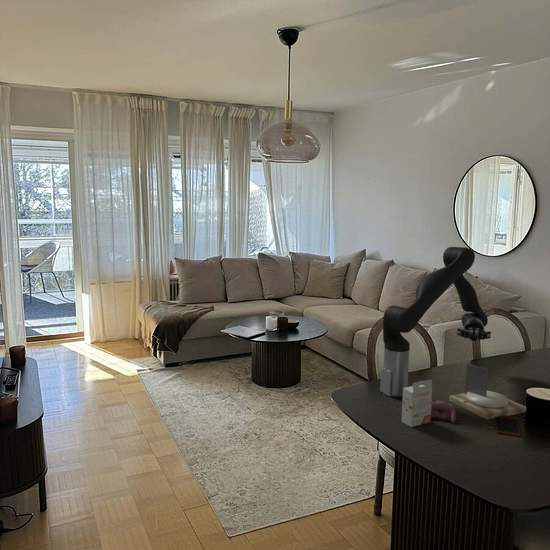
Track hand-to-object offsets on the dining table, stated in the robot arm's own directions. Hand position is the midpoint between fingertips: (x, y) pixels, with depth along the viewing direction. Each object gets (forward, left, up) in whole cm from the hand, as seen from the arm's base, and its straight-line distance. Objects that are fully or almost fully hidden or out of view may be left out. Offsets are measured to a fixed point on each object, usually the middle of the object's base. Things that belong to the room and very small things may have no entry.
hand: (473, 338), depth 193 cm
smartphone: (-10, -27, -22) cm, 36 cm away
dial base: (-3, -11, -22) cm, 25 cm away
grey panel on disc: (-3, -11, -20) cm, 23 cm away
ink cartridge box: (-36, -13, -22) cm, 44 cm away
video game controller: (-26, -14, -22) cm, 37 cm away
